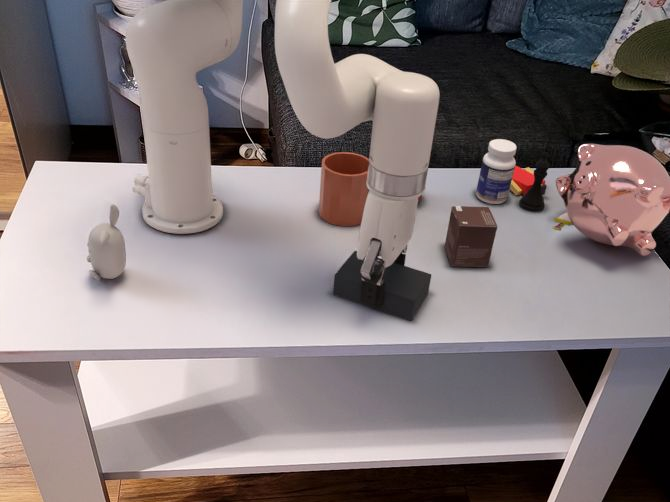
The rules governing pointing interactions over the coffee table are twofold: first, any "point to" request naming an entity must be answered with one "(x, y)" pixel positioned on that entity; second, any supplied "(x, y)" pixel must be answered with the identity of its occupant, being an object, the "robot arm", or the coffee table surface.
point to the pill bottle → (496, 172)
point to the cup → (343, 188)
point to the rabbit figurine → (107, 248)
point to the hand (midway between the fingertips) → (381, 288)
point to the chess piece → (536, 187)
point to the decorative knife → (562, 221)
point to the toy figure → (524, 181)
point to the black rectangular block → (400, 286)
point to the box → (470, 236)
